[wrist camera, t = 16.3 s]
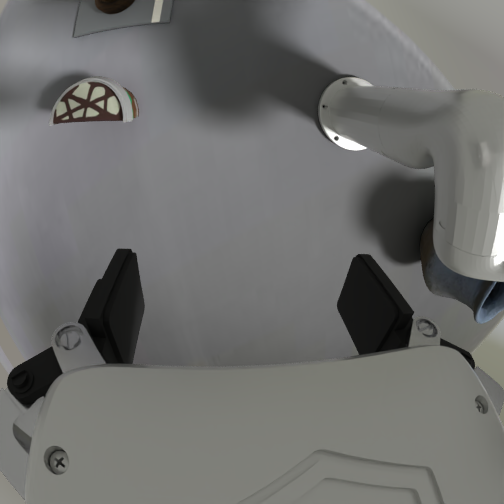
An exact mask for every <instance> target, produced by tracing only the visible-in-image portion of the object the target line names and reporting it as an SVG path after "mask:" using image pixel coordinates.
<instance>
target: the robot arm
mask: <svg viewBox="0 0 504 504" xmlns="http://www.w3.org/2000/svg"><path fill="white" fill-rule="evenodd" d="M342 82H344V84H342ZM323 105H324V108H323V107H322V106H323ZM318 117H319V122H320V125H321V127H322V129H323V131H324V133H325V134H326V136H327V137H328V138H329V139H330V140H331V141H332V142H333V143H335V144H336V145H338V146H340V147H342V148H345V149H348V150H363V149H366V148H368V149H370V150H372V151H375V152H377V153H379V154H381V155H383V156H386V157H388V158H390V159H392V160H394V161H396V162H398V163H400V164H402V165H404V166H407V167H410V168H414V169H425V168H430V167H432V166H434V183H435V208H434V224H433V243H434V248H435V251H436V254H437V256H438V257H439V259H440V260H441V262H442V263H443V264H444V265H445V266H447V267H448V268H449V269H451V270H452V271H454V272H456V273H458V274H461V275H464V276H467V277H471V278H475V279H481V280H489V281H499V282H504V97H502V96H501V95H498V94H496V93H493V92H490V91H485V90H477V89H461V90H423V89H412V88H398V87H379V86H373V85H372V84H371V83H369V82H368V81H365V80H363V79H361V78H356V77H346V78H341V79H338V80H336V81H334V82H332V83H331V84H330V85H329V86H328V87H327V88H326V89H325V90H324V92H323V93H322V95H321V98H320V100H319V105H318ZM334 137H336V138H335V139H334ZM144 306H145V305H144V298H143V293H142V287H141V281H140V275H139V269H138V262H137V256H136V253H132V250H131V249H117V250H116V252H115V254H114V256H113V258H112V260H111V262H110V264H109V266H108V268H107V270H106V272H105V274H104V276H103V278H102V279H99V280H98V281H97V282H96V284H95V286H94V288H93V290H92V292H91V294H90V297H89V299H88V301H87V303H86V305H85V307H84V310H83V312H82V314H81V316H80V319H79V321H78V323H76V322H70V323H66V324H63V325H61V326H60V327H58V328H57V329H56V330H55V332H54V333H53V335H52V339H51V343H52V347H50V348H48V349H47V350H45V351H43V352H41V353H40V354H38V355H36V356H34V357H32V358H31V359H29V360H27V361H25V362H24V363H22V364H20V365H18V366H17V367H15V368H14V369H13V370H12V371H11V372H10V374H9V377H8V380H7V386H8V387H7V389H5V390H4V389H3V388H2V389H1V390H0V471H1V472H2V473H3V475H4V476H5V477H6V478H7V480H8V481H9V482H10V484H11V485H12V486H13V487H14V488H15V490H16V491H17V492H18V493H19V494H20V495H21V497H22V498H23V499H24V500H25V504H504V427H503V425H502V422H501V420H500V418H499V415H500V412H501V409H502V405H503V402H504V390H503V388H502V387H501V386H500V385H499V384H498V383H497V382H496V381H495V380H493V379H492V378H491V377H490V376H489V375H488V374H486V373H485V372H484V371H483V370H481V369H480V368H479V367H476V368H475V362H474V360H473V358H472V356H471V354H470V353H469V352H467V351H465V350H463V349H461V348H459V347H457V346H455V345H453V344H451V343H449V342H447V341H445V340H443V339H441V338H440V329H439V327H438V326H437V324H436V323H435V322H434V321H432V320H431V319H429V318H427V317H423V316H419V317H416V318H415V319H414V320H413V318H412V315H413V313H414V311H413V310H412V309H411V307H410V306H409V304H408V303H407V302H406V300H405V299H404V298H403V296H402V295H401V294H400V292H399V291H398V290H397V288H396V287H395V286H394V284H393V283H392V282H391V280H390V279H389V278H388V277H387V275H386V274H385V273H384V271H383V270H382V269H381V268H380V266H379V265H378V264H377V263H376V261H375V260H374V259H373V258H372V256H371V255H369V254H358V255H357V256H356V257H354V258H353V260H352V262H351V265H350V268H349V271H348V274H347V277H346V280H345V283H344V286H343V289H342V291H341V294H340V297H339V300H338V302H337V309H338V311H339V313H340V315H341V317H342V319H343V321H344V323H345V325H346V327H347V330H348V332H349V334H350V336H351V338H352V340H353V342H354V344H355V346H356V348H357V351H358V353H359V355H358V356H351V357H344V358H336V359H328V360H319V361H310V362H299V363H287V364H273V365H255V366H164V365H144V364H132V363H133V358H134V353H135V349H136V344H137V339H138V335H139V330H140V326H141V322H142V317H143V313H144Z"/></svg>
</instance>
